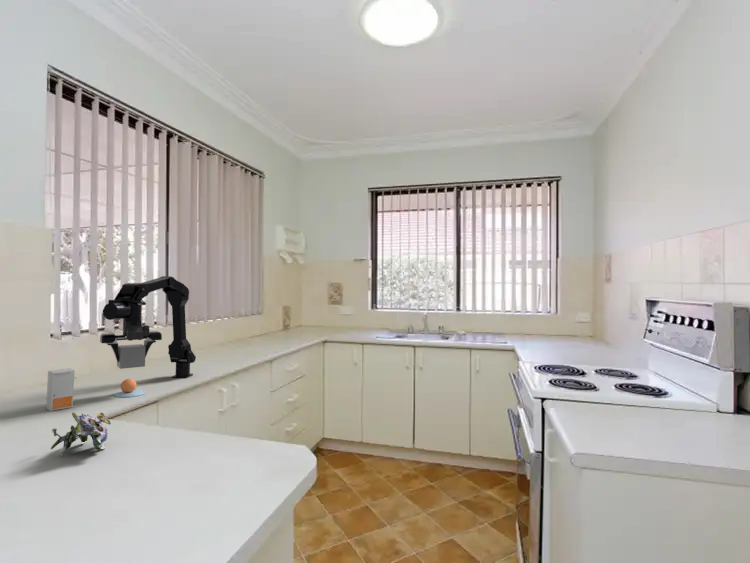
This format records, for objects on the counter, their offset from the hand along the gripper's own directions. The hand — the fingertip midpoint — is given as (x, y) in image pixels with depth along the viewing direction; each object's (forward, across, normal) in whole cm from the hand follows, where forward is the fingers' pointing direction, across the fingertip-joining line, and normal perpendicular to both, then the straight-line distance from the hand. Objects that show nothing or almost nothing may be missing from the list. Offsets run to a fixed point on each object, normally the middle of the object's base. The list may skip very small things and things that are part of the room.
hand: (131, 360), depth 147 cm
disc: (+12, 0, 0) cm, 12 cm away
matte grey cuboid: (+2, 0, 0) cm, 2 cm away
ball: (+10, 0, +2) cm, 10 cm away
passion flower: (+12, -18, -52) cm, 56 cm away
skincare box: (+12, -20, -7) cm, 25 cm away
